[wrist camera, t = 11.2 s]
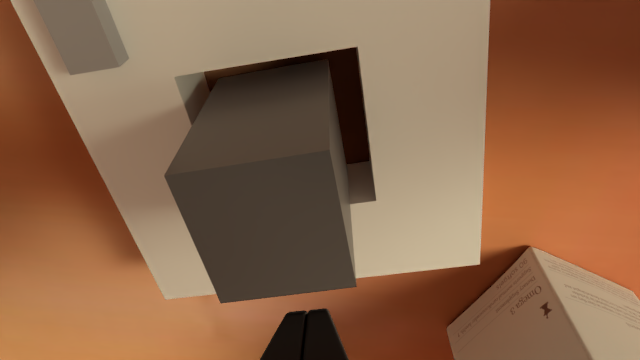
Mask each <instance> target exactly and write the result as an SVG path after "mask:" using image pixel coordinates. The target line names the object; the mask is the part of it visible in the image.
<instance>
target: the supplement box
mask: <svg viewBox="0 0 640 360" xmlns="http://www.w3.org/2000/svg"><path fill="white" fill-rule="evenodd" d="M447 334H448V338H449V342H450V345H451V349H452V353H453V357H454V360H640V300H639V299H638V298H637V296H636V295H635V294H634V293H633V291H631V290H629V289H627V288H624V287H622V286H620V285H618V284H616V283H613V282H611V281H609V280H607V279H605V278H602V277H600V276H598V275H596V274H594V273H591V272H589V271H587V270H585V269H582V268H580V267H578V266H576V265H574V264H571V263H569V262H567V261H564V260H562V259H560V258H558V257H555V256H553V255H551V254H549V253H547V252H544V251H542V250H539V249H537V248H534V247H529V248H528V249H527V250H526V251H525V252H524V253H523V254H522V255H521V256H520V258H519V259H518V260H517V261H516V262H515V263H514V264H513V265H512V266H511V267H510V268H509V269H508V270H507V271H506V272H505V273H504V274H503V275H502V276H501V277H500V278H499V279H498V280H497V281H496V282H495V283H494V284H493V285H492V286H491V287H490V288H489V289H488V290H487V291H486V292H485V293H484V294H483V295H481V296H480V297H479V298H478V299H477V300H476V301H475V302H474V303H473V304H472V305H471V306H470V307H469V308H468V309H467V310H466V311H465V312H463V313H462V314H461V315H460V316H459V317H458V318H457V319H456V320H455V321H453V322H452V323H451V324H450V325H449V326H448V327H447Z"/></svg>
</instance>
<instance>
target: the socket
mask: <svg viewBox="0 0 640 360" xmlns="http://www.w3.org/2000/svg"><path fill="white" fill-rule="evenodd" d="M10 1H11V3H12V5H13V7H14V9H15V11H16V12H17V14H18V16H19V18H20V20H21V22H22V24H23V26H24V28H25V30H26V32H27V34H28V36H29V38H30V39H31V41H32V43H33V45H34V47H35V49H36V51H37V53H38V55H39V57H40V59H41V61H42V63H43V65H44V67H45V68H46V70H47V72H48V74H49V76H50V78H51V80H52V82H53V84H54V86H55V88H56V90H57V92H58V94H59V95H60V97H61V99H62V101H63V103H64V105H65V107H66V109H67V111H68V113H69V115H70V117H71V119H72V121H73V123H74V124H75V126H76V128H77V130H78V132H79V134H80V136H81V138H82V140H83V142H84V144H85V146H86V148H87V150H88V151H89V153H90V155H91V157H92V159H93V161H94V163H95V165H96V167H97V169H98V171H99V173H100V175H101V177H102V178H103V180H104V182H105V184H106V186H107V188H108V190H109V192H110V194H111V196H112V198H113V200H114V202H115V204H116V206H117V207H118V209H119V211H120V213H121V215H122V217H123V219H124V221H125V223H126V225H127V227H128V229H129V231H130V233H131V234H132V236H133V238H134V240H135V242H136V244H137V246H138V248H139V250H140V252H141V254H142V256H143V258H144V260H145V262H146V263H147V265H148V267H149V269H150V271H151V273H152V275H153V277H154V279H155V281H156V283H157V285H158V287H159V289H160V290H161V292H162V294H163V296H164V298H165V300H167V299H175V298H184V297H193V296H202V295H211V294H216V292H215V289H214V287H213V285H212V283H211V280H210V278H209V276H208V274H207V271H206V269H205V267H204V265H203V262H202V260H201V258H200V256H199V253H198V251H197V249H196V247H195V244H194V242H193V240H192V238H191V235H190V233H189V231H188V229H187V226H186V224H185V222H184V220H183V217H182V215H181V213H180V211H179V208H178V206H177V204H176V202H175V199H174V197H173V195H172V193H171V190H170V188H169V186H168V184H167V181H166V179H165V177H164V175H165V173H166V171H167V169H168V168H169V166H170V164H171V162H172V160H173V159H174V157H175V155H176V153H177V152H178V150H179V148H180V146H181V144H182V143H183V141H184V139H185V137H186V136H187V134H188V132H189V130H190V128H191V127H192V125H193V123H194V121H195V119H196V118H197V116H198V114H199V112H200V111H201V109H202V107H203V105H204V103H205V102H206V100H207V98H208V96H209V95H210V90H209V87H208V84H207V81H206V78H205V75H204V72H205V71H212V70H218V69H224V68H230V67H236V66H242V65H248V64H254V63H261V62H267V61H273V60H279V59H285V58H291V57H297V56H303V55H309V54H316V53H322V52H328V51H334V50H340V49H346V48H352V47H356V53H357V61H358V69H359V77H360V85H361V93H362V101H363V109H364V117H365V126H366V134H367V142H368V150H369V158H370V161H366V162H359V163H351V164H347V172H348V185H349V197H350V210H351V223H352V235H353V248H354V261H355V273H356V278H363V277H372V276H381V275H390V274H399V273H408V272H417V271H426V270H435V269H444V268H452V267H461V266H470V265H479V264H480V249H481V224H482V198H483V173H484V148H485V122H486V97H487V71H488V46H489V20H490V0H10Z"/></svg>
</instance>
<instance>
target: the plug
mask: <svg viewBox="0 0 640 360" xmlns="http://www.w3.org/2000/svg"><path fill="white" fill-rule="evenodd" d="M164 177H165V179H166V181H167V184H168V186H169V188H170V190H171V193H172V195H173V197H174V199H175V202H176V204H177V206H178V208H179V211H180V213H181V215H182V217H183V220H184V222H185V224H186V226H187V229H188V231H189V233H190V235H191V238H192V240H193V242H194V244H195V247H196V249H197V251H198V253H199V256H200V258H201V260H202V262H203V265H204V267H205V269H206V271H207V274H208V276H209V278H210V280H211V283H212V285H213V287H214V289H215V292H216V294H217V296H218V298H219V301H220V303H228V302H236V301H244V300H253V299H261V298H269V297H277V296H286V295H294V294H302V293H310V292H319V291H327V290H335V289H343V288H352V287H357V286H356V273H355V261H354V248H353V235H352V223H351V210H350V197H349V185H348V172H347V163H346V158H345V152H344V146H343V141H342V135H341V129H340V124H339V118H338V112H337V107H336V101H335V95H334V89H333V84H332V78H331V72H330V67H329V61H328V59H324V60H319V61H313V62H308V63H302V64H296V65H291V66H285V67H279V68H274V69H268V70H262V71H257V72H251V73H246V74H240V75H234V76H229V77H223V78H219V79H218V80H217V82H216V84H215V86H214V87H213V89H212V91H211V93H210V95H209V96H208V98H207V100H206V102H205V103H204V105H203V107H202V109H201V111H200V112H199V114H198V116H197V118H196V119H195V121H194V123H193V125H192V127H191V128H190V130H189V132H188V134H187V136H186V137H185V139H184V141H183V143H182V144H181V146H180V148H179V150H178V152H177V153H176V155H175V157H174V159H173V160H172V162H171V164H170V166H169V168H168V169H167V171H166V173H165V175H164Z"/></svg>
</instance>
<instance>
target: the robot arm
mask: <svg viewBox="0 0 640 360" xmlns="http://www.w3.org/2000/svg"><path fill="white" fill-rule="evenodd" d="M260 360H349V359H348V356H347V354H346V352H345V349H344V347H343V344H342V342H341V339H340V337H339V335H338V332H337V330H336V327H335V325H334V322H333V320H332V318H331V315H330V313H329V311H328V310H327V309H316V310H310V311H309V312H308V313H307V312H306V311H296V312H289V313H287V314H286V315H285V317H284V318H283V320H282V322H281V324H280V325H279V327H278V329H277V331H276V332H275V334H274V336H273V338H272V339H271V341H270V343H269V344H268V346H267V348H266V350H265V351H264V353H263V355H262V357H261V358H260Z"/></svg>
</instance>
